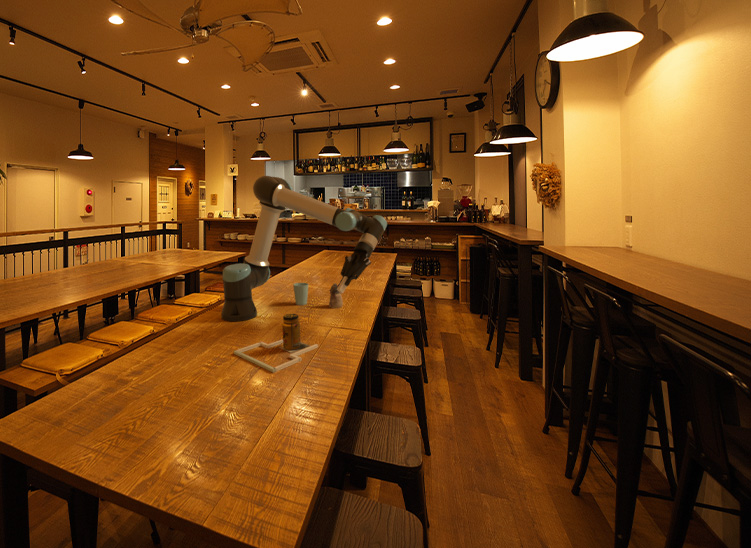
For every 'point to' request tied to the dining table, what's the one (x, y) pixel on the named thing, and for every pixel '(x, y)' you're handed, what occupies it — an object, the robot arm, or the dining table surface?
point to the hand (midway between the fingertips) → (339, 291)
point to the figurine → (335, 297)
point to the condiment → (291, 333)
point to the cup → (301, 293)
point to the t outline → (261, 364)
